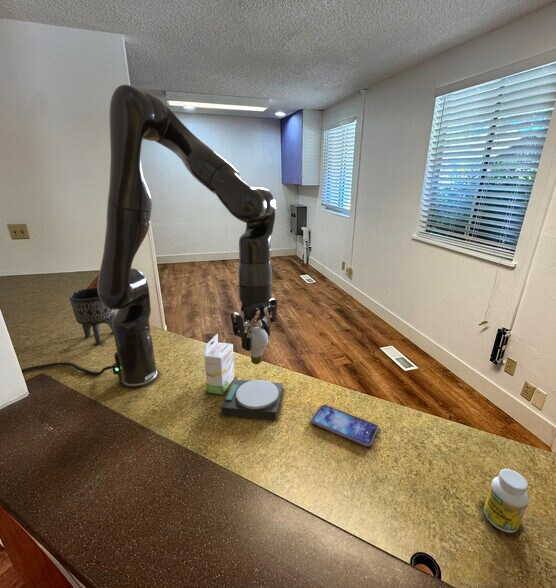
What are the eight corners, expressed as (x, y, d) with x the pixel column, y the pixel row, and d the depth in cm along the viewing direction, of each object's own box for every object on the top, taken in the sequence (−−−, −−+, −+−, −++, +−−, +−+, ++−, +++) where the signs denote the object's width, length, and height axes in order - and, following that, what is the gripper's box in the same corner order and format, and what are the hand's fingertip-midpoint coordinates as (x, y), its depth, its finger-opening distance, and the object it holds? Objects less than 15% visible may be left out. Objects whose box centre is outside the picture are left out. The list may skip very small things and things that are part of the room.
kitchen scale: (221, 415, 77) (220, 404, 76) (234, 386, 89) (234, 376, 88) (275, 420, 76) (275, 409, 75) (282, 390, 87) (282, 380, 86)
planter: (110, 326, 122) (102, 285, 116) (126, 336, 115) (118, 292, 109) (73, 338, 113) (62, 293, 107) (89, 349, 106) (78, 302, 100)
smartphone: (322, 403, 81) (378, 425, 74) (322, 406, 81) (378, 428, 74) (310, 420, 75) (369, 445, 68) (310, 423, 75) (369, 448, 68)
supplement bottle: (523, 522, 54) (538, 482, 51) (510, 540, 51) (526, 500, 48) (490, 498, 58) (503, 460, 55) (477, 513, 55) (490, 475, 52)
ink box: (223, 395, 84) (220, 348, 80) (206, 392, 85) (202, 346, 80) (235, 377, 93) (233, 334, 88) (220, 375, 93) (217, 332, 88)
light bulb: (271, 360, 79) (272, 325, 75) (262, 372, 73) (261, 335, 70) (251, 355, 80) (250, 321, 77) (240, 367, 75) (239, 331, 72)
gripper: (263, 270, 77) (264, 330, 83) (219, 283, 66) (223, 351, 72) (287, 276, 73) (285, 338, 79) (244, 290, 62) (246, 362, 68)
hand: (256, 344), depth 75 cm, fingers closed on light bulb, 6 cm apart
